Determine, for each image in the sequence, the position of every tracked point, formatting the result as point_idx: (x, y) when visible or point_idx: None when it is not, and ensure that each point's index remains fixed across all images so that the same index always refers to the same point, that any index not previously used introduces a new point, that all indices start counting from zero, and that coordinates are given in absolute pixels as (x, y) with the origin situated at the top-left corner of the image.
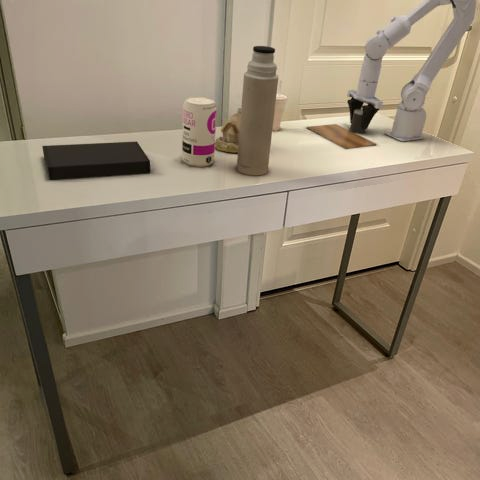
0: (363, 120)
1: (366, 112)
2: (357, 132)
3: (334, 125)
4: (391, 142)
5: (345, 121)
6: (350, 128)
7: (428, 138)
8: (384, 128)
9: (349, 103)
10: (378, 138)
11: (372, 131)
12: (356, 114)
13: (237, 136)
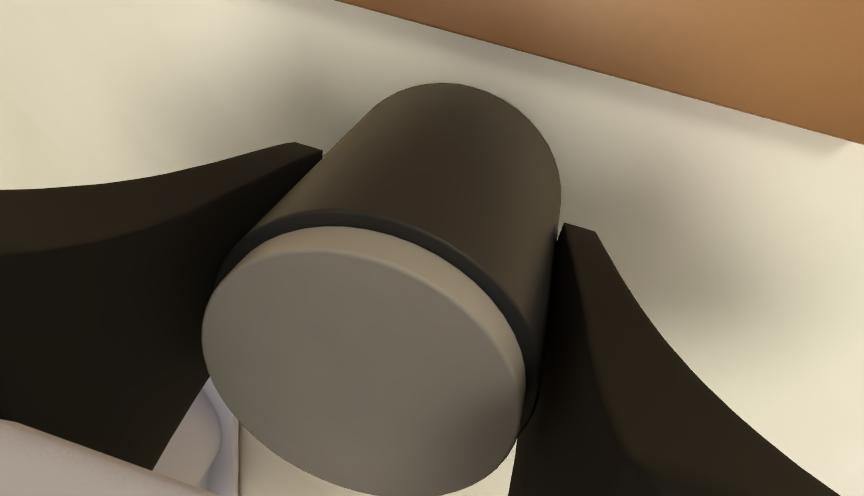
0: (206, 169)
1: None
2: (377, 104)
3: (855, 38)
4: (5, 175)
5: (814, 415)
6: (520, 125)
7: None
8: None
9: (736, 467)
10: (140, 170)
11: None
12: (358, 206)
13: None
